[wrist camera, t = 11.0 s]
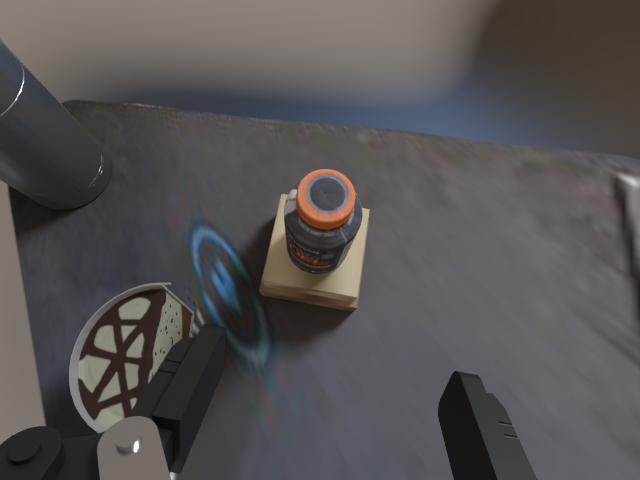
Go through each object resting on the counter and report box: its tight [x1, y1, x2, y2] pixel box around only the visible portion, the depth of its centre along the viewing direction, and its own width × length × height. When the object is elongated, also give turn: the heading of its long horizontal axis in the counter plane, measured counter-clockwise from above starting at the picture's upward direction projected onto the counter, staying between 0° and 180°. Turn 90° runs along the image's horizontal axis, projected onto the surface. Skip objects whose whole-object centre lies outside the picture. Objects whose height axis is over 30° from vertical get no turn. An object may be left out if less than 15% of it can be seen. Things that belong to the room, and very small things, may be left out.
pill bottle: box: [284, 169, 363, 274], centre depth 29 cm, size 6×6×11 cm
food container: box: [69, 283, 194, 433], centre depth 31 cm, size 12×6×10 cm, turn 178°
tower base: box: [259, 194, 369, 312], centre depth 37 cm, size 10×10×6 cm
